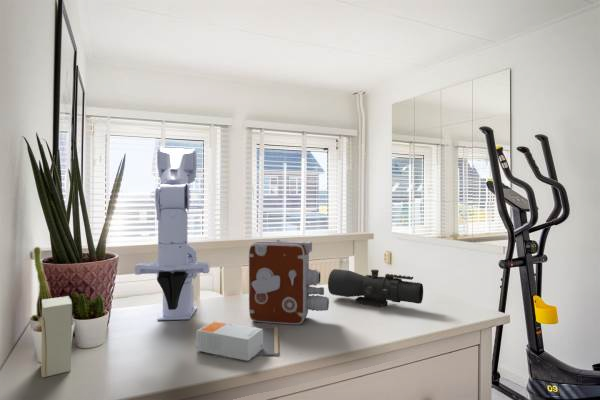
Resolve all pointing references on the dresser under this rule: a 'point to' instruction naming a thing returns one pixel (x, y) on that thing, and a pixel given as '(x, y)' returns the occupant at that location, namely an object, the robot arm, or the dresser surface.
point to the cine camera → (283, 282)
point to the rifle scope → (374, 288)
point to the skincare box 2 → (230, 340)
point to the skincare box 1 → (56, 336)
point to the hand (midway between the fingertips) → (173, 308)
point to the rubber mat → (267, 343)
